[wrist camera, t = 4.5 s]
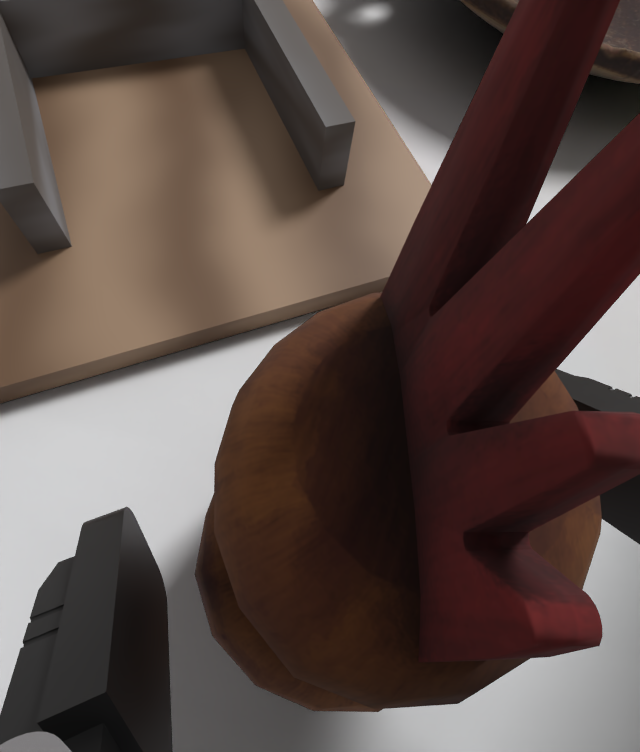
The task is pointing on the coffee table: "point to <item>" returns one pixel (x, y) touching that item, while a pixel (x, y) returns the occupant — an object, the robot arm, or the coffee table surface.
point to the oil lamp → (618, 50)
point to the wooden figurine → (440, 421)
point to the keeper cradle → (183, 179)
